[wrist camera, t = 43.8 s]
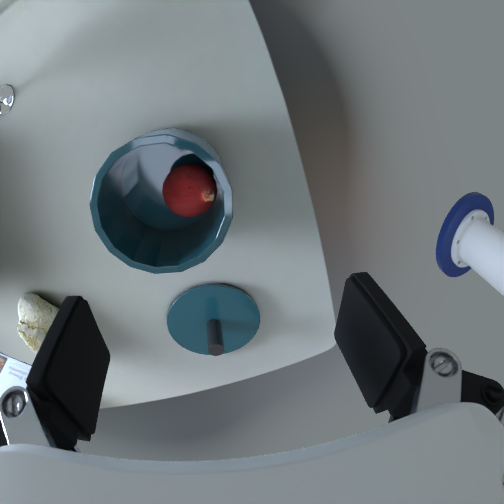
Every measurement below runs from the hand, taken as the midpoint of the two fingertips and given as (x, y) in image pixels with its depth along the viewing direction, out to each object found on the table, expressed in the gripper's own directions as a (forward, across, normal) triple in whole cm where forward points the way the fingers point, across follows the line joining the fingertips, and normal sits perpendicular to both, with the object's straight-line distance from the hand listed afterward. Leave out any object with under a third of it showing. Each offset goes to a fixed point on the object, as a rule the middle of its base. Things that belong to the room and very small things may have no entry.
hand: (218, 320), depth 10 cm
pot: (+27, +5, +2) cm, 27 cm away
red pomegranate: (+26, +4, +2) cm, 26 cm away
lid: (+26, +1, +24) cm, 35 cm away
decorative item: (+27, +31, +22) cm, 46 cm away
